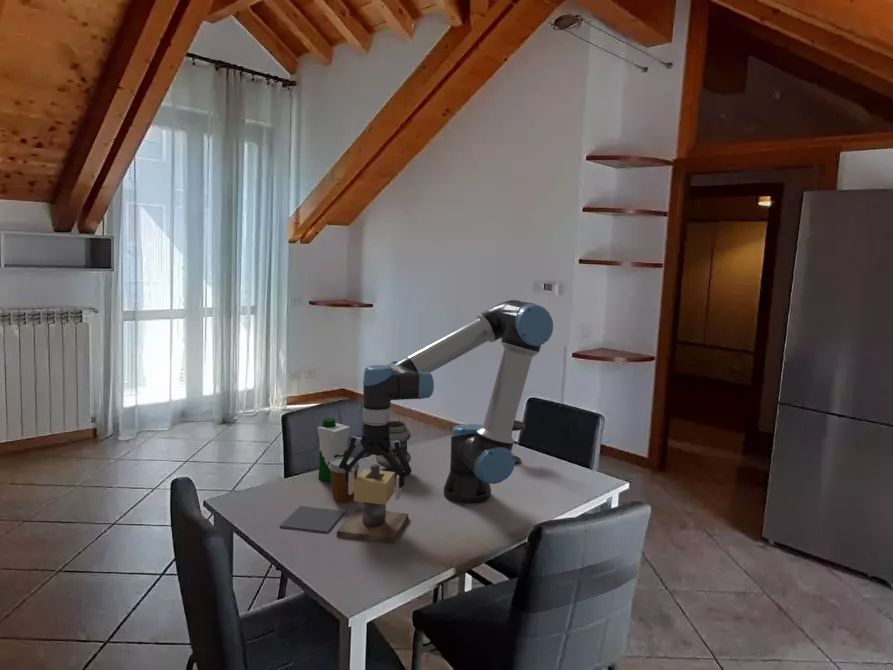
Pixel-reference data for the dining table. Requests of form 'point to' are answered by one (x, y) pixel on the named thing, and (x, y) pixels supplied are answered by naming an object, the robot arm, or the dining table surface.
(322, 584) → the dining table surface
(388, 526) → the stand
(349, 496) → the disposable coffee cup
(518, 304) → the robot arm
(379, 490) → the collar
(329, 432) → the milk carton
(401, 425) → the apothecary jar
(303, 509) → the mat
